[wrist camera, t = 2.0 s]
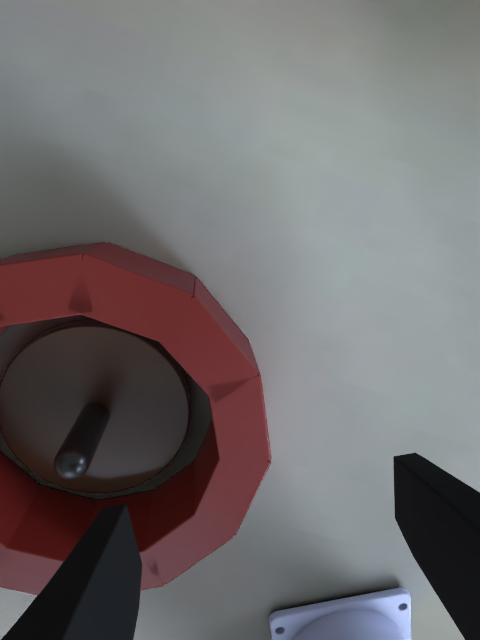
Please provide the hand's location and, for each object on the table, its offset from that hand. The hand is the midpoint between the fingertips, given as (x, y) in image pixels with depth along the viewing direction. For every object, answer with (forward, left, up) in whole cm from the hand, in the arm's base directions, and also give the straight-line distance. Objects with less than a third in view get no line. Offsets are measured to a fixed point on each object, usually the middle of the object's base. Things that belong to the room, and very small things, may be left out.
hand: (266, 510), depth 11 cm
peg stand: (0, +6, -8) cm, 10 cm away
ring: (0, +6, -8) cm, 10 cm away
